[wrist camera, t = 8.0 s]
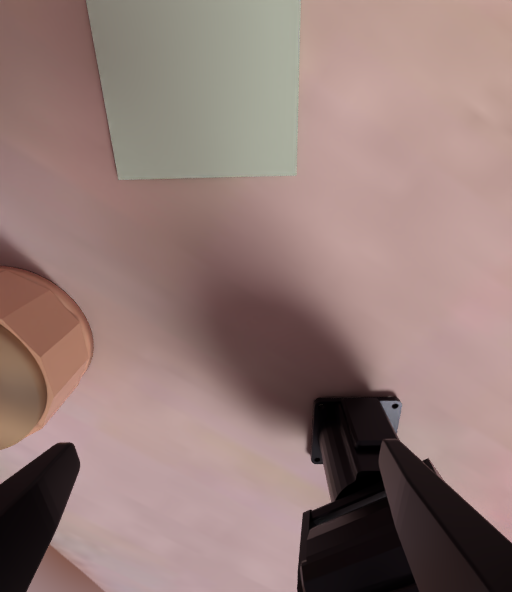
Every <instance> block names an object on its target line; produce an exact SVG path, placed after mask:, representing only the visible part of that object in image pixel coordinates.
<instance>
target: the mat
mask: <svg viewBox="0 0 512 592" xmlns="http://www.w3.org/2000/svg"><path fill="white" fill-rule="evenodd" d="M86 4H87V9H88V15H89V20H90V26H91V31H92V37H93V42H94V48H95V53H96V59H97V64H98V70H99V75H100V81H101V86H102V92H103V97H104V103H105V109H106V114H107V120H108V125H109V131H110V136H111V142H112V147H113V153H114V158H115V164H116V169H117V175H118V180H136V179H176V178H217V177H257V176H296V174H297V134H298V93H299V52H300V11H301V0H86Z"/></svg>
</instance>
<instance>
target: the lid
mask: <svg viewBox="0 0 512 592" xmlns="http://www.w3.org/2000/svg"><path fill="white" fill-rule="evenodd" d="M46 404H47V386H46V382H45V378H44V375H43V373H42V371H41V368H40V366H39V365H38V363H37V361H36V359H35V358H34V356H33V355H32V354H31V352H30V351H29V350H28V348H27V347H26V346H25V345H24V344H23V343H22V342H21V341H20V340H19V339H18V338H17V337H16V336H15V335H14V334H13V333H11V332H10V331H9V330H8V329H6V328H5V327H4V326H2V325H1V324H0V450H2V449H5V448H8V447H10V446H12V445H15V444H16V443H18V442H19V441H21V440H22V439H23V438H24V437H26V436H27V435H28V434H29V432H30V431H31V430H32V429H33V428H34V427H35V425H36V424H37V423H38V422H39V420H40V419H41V418H42V416H43V413H44V411H45V408H46Z"/></svg>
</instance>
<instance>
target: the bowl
mask: <svg viewBox="0 0 512 592" xmlns="http://www.w3.org/2000/svg"><path fill="white" fill-rule="evenodd" d="M0 324H1V325H2V326H4V327H5V328H6V329H8V330H9V331H10V332H11V333H13V334H14V335H15V336H16V337H17V338H18V339H19V340H20V341H21V342H22V343H23V344H24V345H25V346H26V347H27V348H28V350H29V351H30V352H31V354H32V355H33V356H34V358H35V359H36V361H37V363H38V365H39V366H40V368H41V371H42V373H43V375H44V378H45V382H46V386H47V404H46V408H45V411H44V413H43V416H42V418H41V419H40V420H39V422H38V423H37V424H36V425H35V427H34V428H33V429H32V430H31V431H30V432H29V434H28V435H27V436H29V435H31V434H33V433H34V432H36V431H38V430H40V429H42V428H43V427H44V426H45V424H46V423H47V422H48V421H49V420H50V418H51V417H52V416H53V415H54V414H55V412H56V411H57V410H58V409H59V407H60V406H61V405H62V404H63V403H64V401H65V400H66V399H67V398H68V397H69V395H70V394H71V393H72V392H73V390H74V389H75V388H76V387H77V386H78V384H79V381H80V379H81V377H82V376H83V374H84V373H85V372H86V370H87V369H88V367H89V365H90V363H91V360H92V357H93V349H94V347H93V337H92V332H91V329H90V326H89V324H88V321H87V319H86V317H85V316H84V314H83V312H82V311H81V309H80V308H79V307H78V305H77V304H76V303H75V302H74V300H73V299H72V298H71V297H70V296H69V295H68V294H67V293H65V292H64V291H63V290H62V289H60V288H59V287H58V286H57V285H55V284H53V283H52V282H50V281H49V280H47V279H45V278H43V277H41V276H39V275H37V274H35V273H32V272H30V271H26V270H23V269H19V268H14V267H8V266H0ZM27 436H26V437H27ZM24 438H25V437H24Z"/></svg>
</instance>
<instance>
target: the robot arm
mask: <svg viewBox="0 0 512 592" xmlns="http://www.w3.org/2000/svg"><path fill="white" fill-rule="evenodd" d="M395 403H396V404H395ZM320 404H323V405H322V406H318V405H320ZM393 404H395V405H393ZM401 408H402V403H401V402H400V400H399V399H398V398H396V397H361V398H318V399H316V400H315V401H314V405H313V422H312V439H311V455H310V456H311V461H312V462H313V463H314V464H323V465H324V470H325V474H326V479H327V484H328V489H329V493H330V498H331V503H329V504H326V505H324V506H322V507H319V508H317V509H315V510H313V511H312V510H308V511H306V512H304V513H303V519H302V530H301V541H300V553H299V564H298V584H297V591H298V592H512V543H511V542H510V541H509V540H508V539H507V538H506V537H505V536H503V535H502V534H501V533H500V532H499V531H498V530H497V529H496V528H495V527H494V526H493V525H491V524H490V523H489V522H488V521H487V520H486V519H485V518H484V517H483V516H482V515H480V514H479V513H478V512H477V511H476V510H475V509H474V508H473V507H472V506H471V505H470V504H468V503H467V502H466V501H465V500H464V499H463V498H462V497H461V496H460V495H459V494H457V493H456V492H455V491H454V490H453V489H452V488H451V487H450V486H449V485H448V484H447V483H445V481H444V480H443V478H442V477H441V476H440V474H439V473H438V471H437V470H436V468H435V467H434V465H433V464H432V463H431V461H430V460H429V458H428V459H426V460H423V461H421V460H420V459H419V458H418V457H417V456H416V455H415V454H414V453H413V452H411V451H410V450H409V449H408V448H407V447H406V446H405V445H404V444H403V443H402V442H400V440H399V438H398V436H397V429H398V424H399V419H400V414H401ZM317 457H318V458H317ZM79 469H80V460H79V457H78V454H77V452H76V449H75V446H74V444H73V443H70V442H68V443H57V444H55V445H54V446H52V447H51V448H50V449H48V450H47V451H45V452H44V453H43V454H41V455H40V456H39V457H37V458H36V459H34V460H33V461H32V462H30V463H29V464H28V465H26V466H25V467H24V468H22V469H21V470H19V471H18V472H17V473H15V474H14V475H13V476H11V477H10V478H8V479H7V480H6V481H4V482H3V483H2V484H0V592H26V591H27V589H28V587H29V585H30V583H31V581H32V579H33V577H34V575H35V573H36V571H37V569H38V567H39V565H40V562H41V560H42V558H43V556H44V554H45V552H46V550H47V548H48V546H49V544H50V542H51V540H52V538H53V536H54V534H55V531H56V529H57V527H58V524H59V522H60V520H61V517H62V514H63V512H64V509H65V507H66V504H67V501H68V499H69V496H70V494H71V491H72V488H73V486H74V483H75V480H76V478H77V475H78V473H79Z"/></svg>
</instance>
